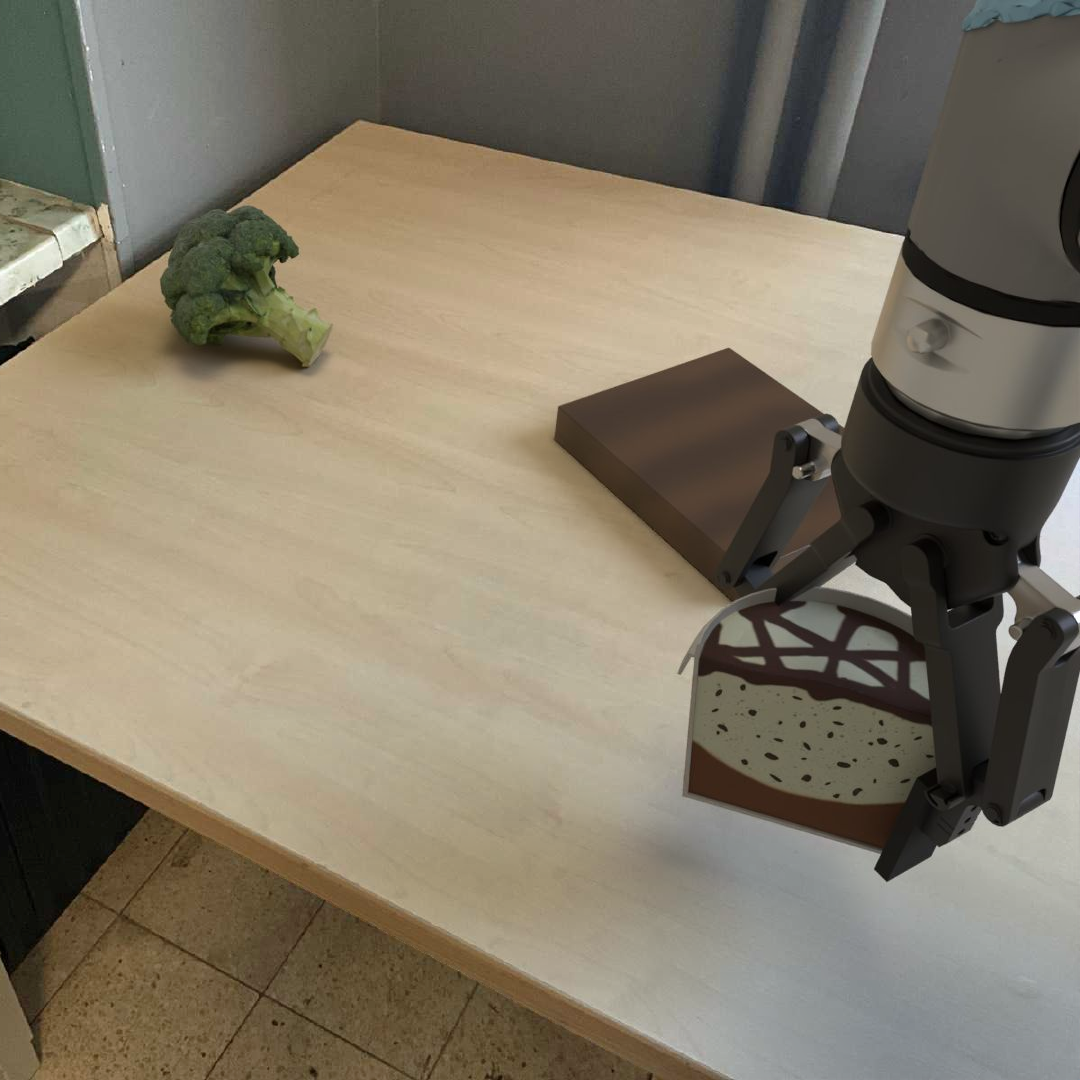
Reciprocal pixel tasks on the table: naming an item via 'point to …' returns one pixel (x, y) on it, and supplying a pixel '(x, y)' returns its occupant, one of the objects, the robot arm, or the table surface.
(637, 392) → the board
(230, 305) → the vegetable
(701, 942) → the table surface
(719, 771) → the food container
